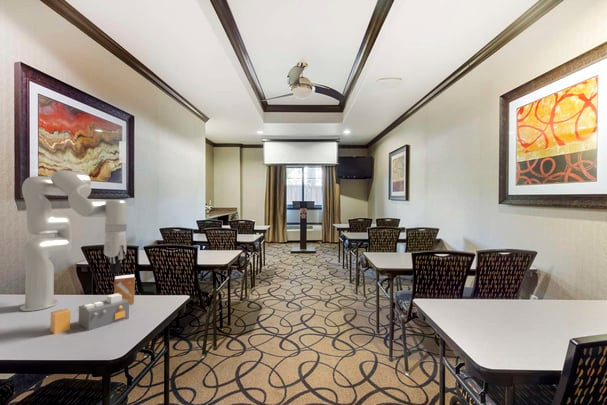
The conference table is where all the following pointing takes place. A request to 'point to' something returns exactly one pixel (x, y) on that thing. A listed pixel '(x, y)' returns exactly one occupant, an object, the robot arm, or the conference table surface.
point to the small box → (125, 287)
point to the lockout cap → (60, 321)
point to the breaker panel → (102, 313)
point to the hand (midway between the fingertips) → (115, 272)
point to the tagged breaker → (114, 298)
